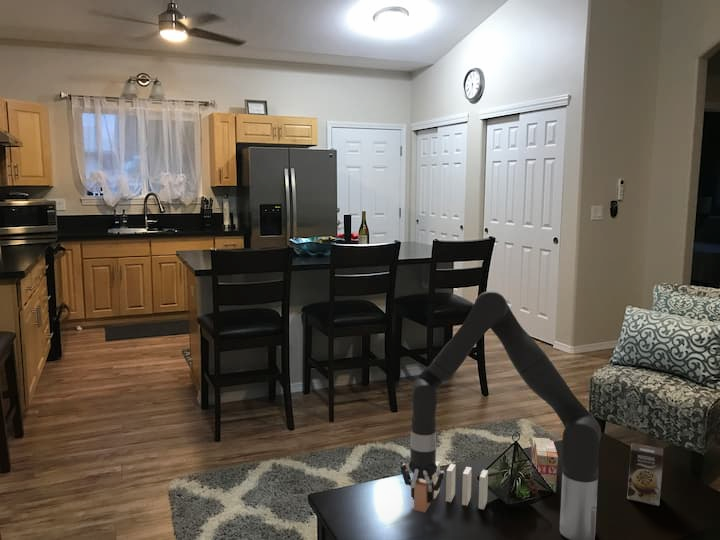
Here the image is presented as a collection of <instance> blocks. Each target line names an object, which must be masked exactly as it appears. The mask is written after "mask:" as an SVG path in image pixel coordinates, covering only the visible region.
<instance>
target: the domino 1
mask: <svg viewBox="0 0 720 540" xmlns="http://www.w3.org/2000/svg"><path fill="white" fill-rule="evenodd" d="M430 505H431V503H428V486H427V484H426V481H425V480H424V479H418V480H417V481H416V483H415V484H414V500H413V510H414V511H418V512H420V513H421V512H422V513H426V512H427V510H428V509H429V507H430Z"/></svg>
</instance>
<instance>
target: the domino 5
mask: <svg viewBox="0 0 720 540" xmlns="http://www.w3.org/2000/svg"><path fill="white" fill-rule="evenodd" d="M478 482H479V485H478V509H480V510H485V508H486V506H487V503H488V490H489V488H488V486H489V485H488V483H489V470H487V469H482V471H481V473H480V475H479V481H478Z"/></svg>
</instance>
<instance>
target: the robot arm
mask: <svg viewBox="0 0 720 540" xmlns="http://www.w3.org/2000/svg"><path fill="white" fill-rule="evenodd" d="M489 330H491V331H492V332H493V333H494V335H495V336H496V337H497V339H499V341H500V343H501V344H502V346H503V348H504V350H505V352H506V354H507V356H508V358H509V360H510V362H511V363H512V365H513V367H514V368H515V369H516V372H518V374H519V376H520V377H521V379H522V380H523V381H524V382H525V384H526V385H527V387H528V388H529V389H530V390H531V391H532V392H533V393H535V394H536V395H537V396H538V397H539V398H540V399H542V400H543V401H544V402H546V403H547V404H548V405H549V406H550V407H551V408H552V409H553V410H554V412H555V413H556V415H557V417H558V418H559V420H560V421H561V423H562V425H563V427H564V429H563V432H562V442H561V465H562V470H561V471H562V472H561V473H562V474H561V494H560V513H559V532H560V534H561V535H562V536H563V537H564V538H565V539H568V540H596V538H595V537H596V523H597V506H598V503H597V502H598V486H599V485H598V483H599V472H600V471H599V452H600V451H599V450H600V441H601V438H602V428H601V425H600V424H599V422H598V420H596V418H595V417H594V416H593V414H591V413H590V412H589V410H588V409H587V408H586V407H585V406H584V404H582V402H580V400H579V399H578V398H577V396H576V395H575V394H574V393H573V391H572V390H571V388H570V387H569V385H568V384H567V382H566V381H565V379H564V378H563V376H562V375H561V374H560V372H559V371H558V370H557V368H556V366H555V365H554V364H553V362H552V361H551V360H550V358H549V357H548V355H546V353H545V352H544V351H543V349H542V348H541V347H540V345H539V344H538V343H537V342H536V341H535V340H534V339H533V337H531V335H530V334H528V333H527V332H526V330H525V329H524V328H523V327H522V325H521V324H520V322H519V320H517V318H516V316H515V315H514V313H513V311H512V310H511V308H510V306H509V305H508V302H507V299H506V298H505V297H504V295H502V294H501V293H499V292H497V291H494V290H491V291H490V290H489V291H488V290H487V291H483V292H482V293H480V294H478V296H477V297H476V299H475V300H474V304H473V306H472V308H471V309H470V311H469V313H468V315H467V316H466V319H465V320H464V322H463V323H462V324H461V326H460V327H459V328H458V330H457V331H456V333H455V334H454V335H453V336H452V337H451V339H449V341H448V342H447V343H446V344H444V346H443V348H441V349H440V351H439V353H438V354H437V355H436V356H435V357H434V358H433V360H432V362H431V363H430V364H429V366H427V367H426V368H425V369H424V370H423V371H421V373H420V374H419V375H418V376H417V377H416V379H415V380H414V382H412V386H411V393H412V415H411V416H412V417H411V433H410V441H409V442H410V450H409V451H410V456H409V457H410V458H409V463H406V462H403V463H402V464H401V465H400V471H401V475H402V478H403V481H404V485H406V486H409V487H410V496H411V498H412V500H413V501H414V484H415V483H416V481H417V480H418V479H424V480H425V481H426V484H427V486H428V503H430V504H431V502H433V501H434V491H438V489H439V488H441V485H442V483H443V480H444V478H445V477H446V473H447V470H444V469H442V470H441V469H440V470H439V469H437V466H436V461H437V460H436V458H437V434H436V426H437V425H436V423H437V421H436V412H437V401H438V393H437V391H438V389H439V388H440V387H441V386H442V384H443V383H444V382H448V381H449V380H450V379H452V377H453V376H454V375H455V374H456V372H457V371H458V370H459V368H460V367H461V366H462V365H463V363H464V362H465V360H466V359H467V357H469V355H470V354H471V351H472V350H473V348H474V347H475V345H476V344H477V343H478V342H479V340H480V339H481V338H482V337H483V336H484V335H485V334H486V332H488V331H489ZM409 470H410V471H411V472H412V474H413V476H412V477H411V474H410V471H409ZM435 472H436V473H437V477H438V480H437V483H436V484H435V485H434V482H433V474H434V473H435ZM439 490H440V489H439Z"/></svg>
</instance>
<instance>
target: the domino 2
mask: <svg viewBox="0 0 720 540" xmlns="http://www.w3.org/2000/svg"><path fill="white" fill-rule="evenodd" d="M436 466H437V469H439V470H441V461H439V460H436ZM437 480H438V477H437V473H436V472H435V473H434V474H433V482H434V485H435V484H436V483H437ZM440 488H441V487H440ZM440 488H439V489H438V491H434V499H435V500H436V498H437V496H438V495H439V493H440ZM434 499H433V500H434Z"/></svg>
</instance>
